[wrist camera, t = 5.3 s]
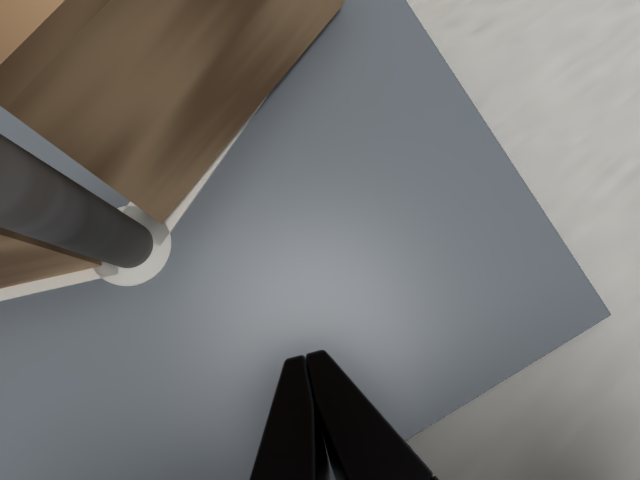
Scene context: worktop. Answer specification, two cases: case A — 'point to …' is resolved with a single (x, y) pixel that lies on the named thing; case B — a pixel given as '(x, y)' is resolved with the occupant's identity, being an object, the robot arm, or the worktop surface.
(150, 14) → the fence panel
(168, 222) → the mat
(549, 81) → the worktop surface
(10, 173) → the fence fixed
